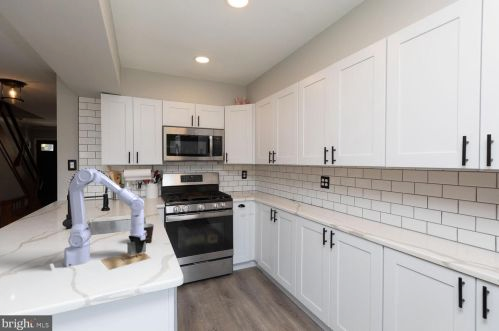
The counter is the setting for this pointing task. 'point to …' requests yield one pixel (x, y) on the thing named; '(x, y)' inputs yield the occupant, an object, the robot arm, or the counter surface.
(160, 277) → the counter surface
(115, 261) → the oak board
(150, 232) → the coffee mug
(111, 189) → the robot arm
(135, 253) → the sanding block
